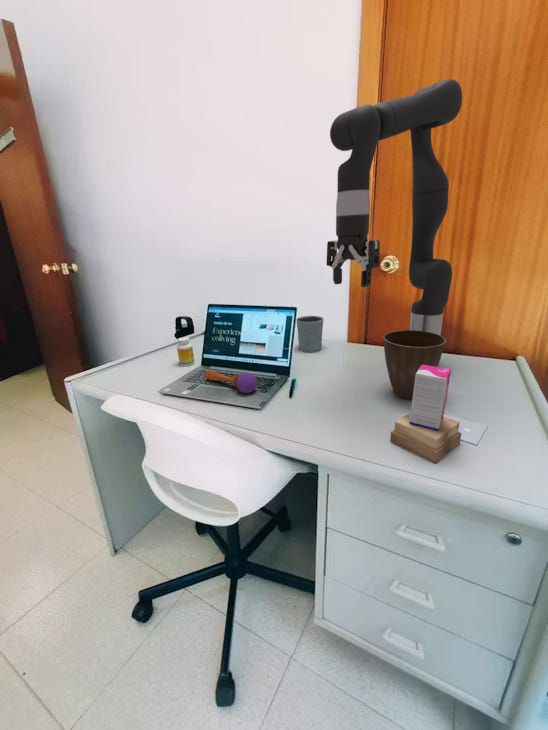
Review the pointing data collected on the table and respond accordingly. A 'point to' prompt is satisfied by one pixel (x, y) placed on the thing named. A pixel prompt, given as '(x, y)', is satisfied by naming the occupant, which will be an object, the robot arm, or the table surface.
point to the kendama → (235, 380)
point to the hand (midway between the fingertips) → (350, 285)
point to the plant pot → (410, 357)
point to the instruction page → (469, 430)
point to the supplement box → (429, 396)
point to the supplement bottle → (185, 352)
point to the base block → (426, 438)
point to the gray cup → (310, 333)
